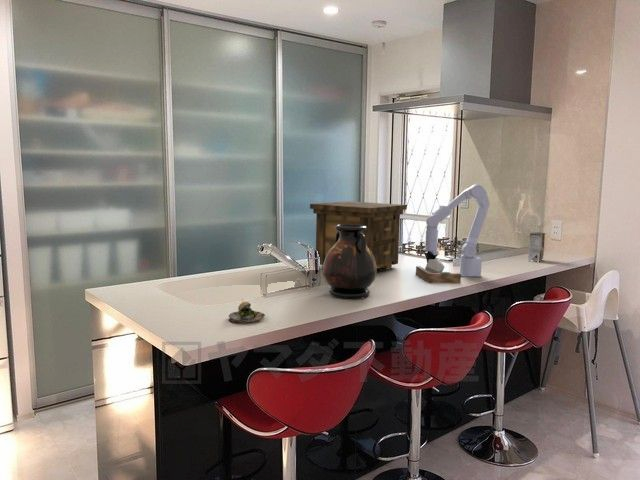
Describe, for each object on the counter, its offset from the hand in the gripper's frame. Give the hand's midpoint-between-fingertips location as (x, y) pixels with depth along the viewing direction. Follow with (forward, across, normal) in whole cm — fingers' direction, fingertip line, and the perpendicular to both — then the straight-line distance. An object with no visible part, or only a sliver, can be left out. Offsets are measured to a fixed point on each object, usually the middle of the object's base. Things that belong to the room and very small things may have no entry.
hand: (430, 267), depth 260 cm
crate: (+3, -13, -34) cm, 37 cm away
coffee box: (+3, -35, +74) cm, 82 cm away
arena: (+3, +12, 0) cm, 12 cm away
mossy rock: (+3, +77, -88) cm, 117 cm away
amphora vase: (+3, +44, -48) cm, 65 cm away
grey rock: (+3, +6, 0) cm, 6 cm away
